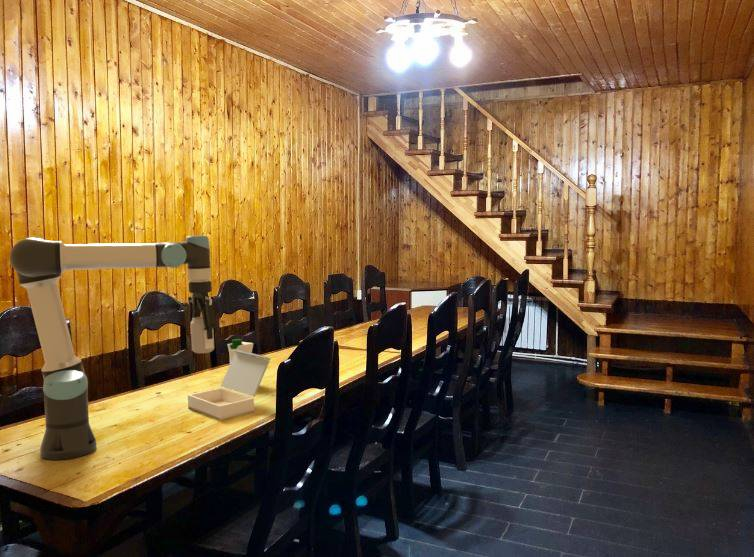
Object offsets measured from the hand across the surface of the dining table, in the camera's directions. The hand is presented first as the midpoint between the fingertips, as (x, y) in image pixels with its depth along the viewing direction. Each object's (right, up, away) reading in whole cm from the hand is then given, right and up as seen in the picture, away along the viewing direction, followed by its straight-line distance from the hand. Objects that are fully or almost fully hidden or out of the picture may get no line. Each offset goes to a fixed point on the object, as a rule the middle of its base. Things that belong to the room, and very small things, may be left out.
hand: (203, 346), depth 218 cm
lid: (+9, -11, +19) cm, 24 cm away
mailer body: (+3, -25, +14) cm, 28 cm away
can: (0, -2, 0) cm, 2 cm away
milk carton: (+3, -22, +49) cm, 54 cm away
